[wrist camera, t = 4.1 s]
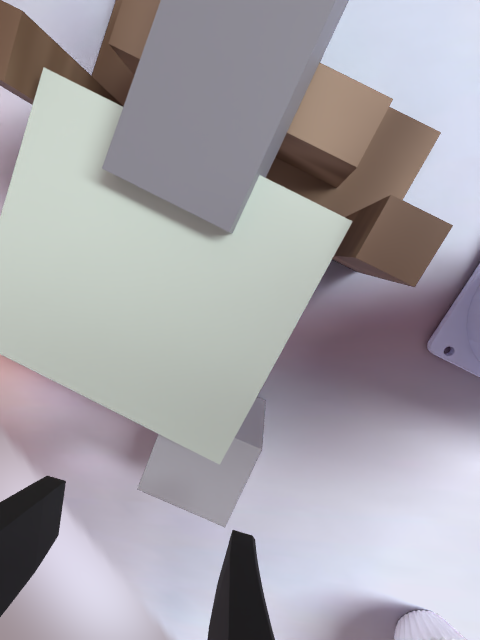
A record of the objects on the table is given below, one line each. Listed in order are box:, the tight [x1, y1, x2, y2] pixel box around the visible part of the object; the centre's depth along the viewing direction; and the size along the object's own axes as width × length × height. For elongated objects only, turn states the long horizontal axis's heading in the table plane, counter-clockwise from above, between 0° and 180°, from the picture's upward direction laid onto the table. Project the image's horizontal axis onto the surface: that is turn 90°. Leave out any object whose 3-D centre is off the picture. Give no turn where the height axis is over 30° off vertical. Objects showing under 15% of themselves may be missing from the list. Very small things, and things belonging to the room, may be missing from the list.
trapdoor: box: [0, 0, 353, 465], centre depth 11 cm, size 11×18×3 cm, turn 154°
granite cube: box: [138, 397, 266, 527], centre depth 18 cm, size 4×4×5 cm
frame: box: [0, 0, 453, 287], centre depth 13 cm, size 16×7×8 cm, turn 64°
